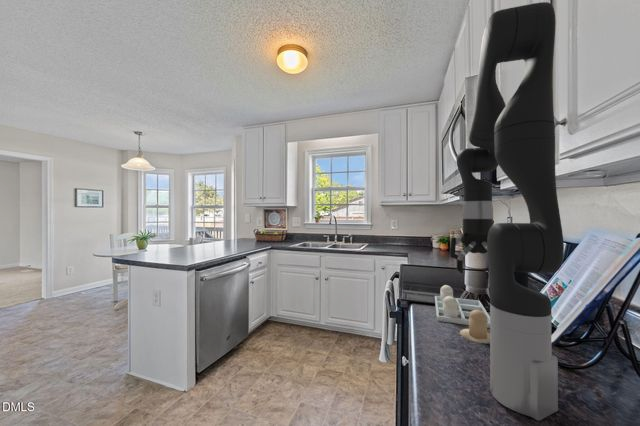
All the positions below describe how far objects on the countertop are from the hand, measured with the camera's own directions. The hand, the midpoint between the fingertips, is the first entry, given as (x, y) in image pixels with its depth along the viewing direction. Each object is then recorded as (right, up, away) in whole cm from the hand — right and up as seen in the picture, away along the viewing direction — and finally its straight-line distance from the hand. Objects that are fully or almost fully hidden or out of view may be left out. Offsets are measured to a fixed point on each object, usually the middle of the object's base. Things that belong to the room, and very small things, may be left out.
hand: (477, 274), depth 75 cm
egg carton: (+5, -18, +18) cm, 26 cm away
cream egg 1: (+4, -18, +27) cm, 32 cm away
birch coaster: (0, -18, 0) cm, 18 cm away
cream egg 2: (-2, -18, +13) cm, 22 cm away
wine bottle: (+24, -19, +17) cm, 35 cm away
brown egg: (0, -17, 0) cm, 17 cm away
